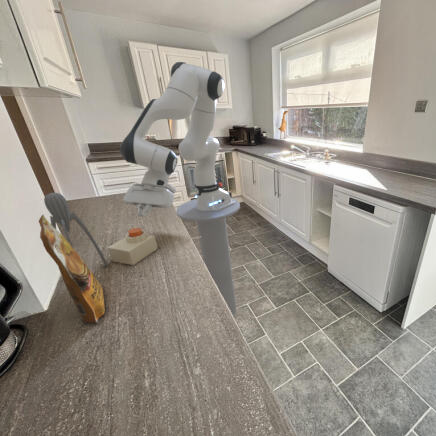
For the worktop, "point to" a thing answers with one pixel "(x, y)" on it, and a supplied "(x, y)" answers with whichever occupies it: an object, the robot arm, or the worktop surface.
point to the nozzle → (135, 232)
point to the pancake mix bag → (74, 273)
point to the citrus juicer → (66, 217)
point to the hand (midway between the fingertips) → (141, 215)
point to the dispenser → (132, 248)
